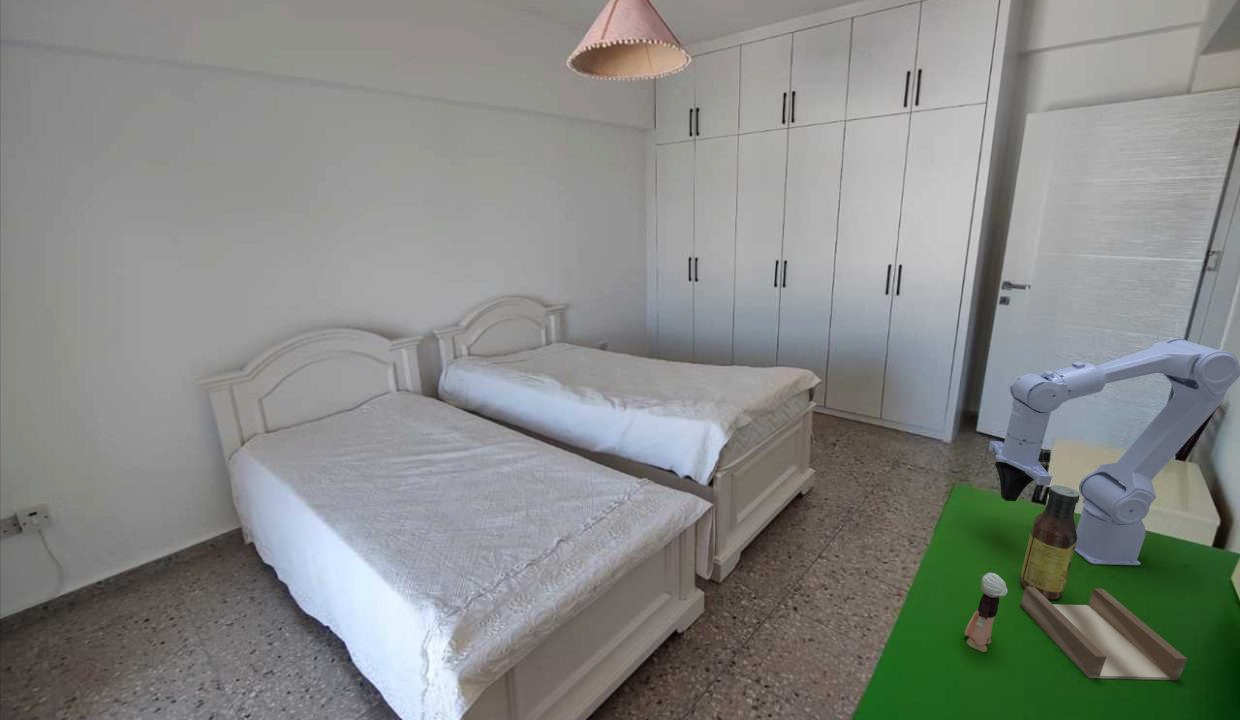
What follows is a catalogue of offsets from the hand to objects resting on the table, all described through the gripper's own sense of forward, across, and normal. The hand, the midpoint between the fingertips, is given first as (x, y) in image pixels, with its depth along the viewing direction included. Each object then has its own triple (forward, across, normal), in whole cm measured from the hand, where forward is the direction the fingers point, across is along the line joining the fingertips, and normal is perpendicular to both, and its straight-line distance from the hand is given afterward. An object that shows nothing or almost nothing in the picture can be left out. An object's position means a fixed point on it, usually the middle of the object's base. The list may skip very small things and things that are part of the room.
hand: (1008, 499), depth 106 cm
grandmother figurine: (+11, +26, -20) cm, 34 cm away
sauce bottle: (+11, +13, -1) cm, 17 cm away
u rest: (+10, +25, -1) cm, 27 cm away
